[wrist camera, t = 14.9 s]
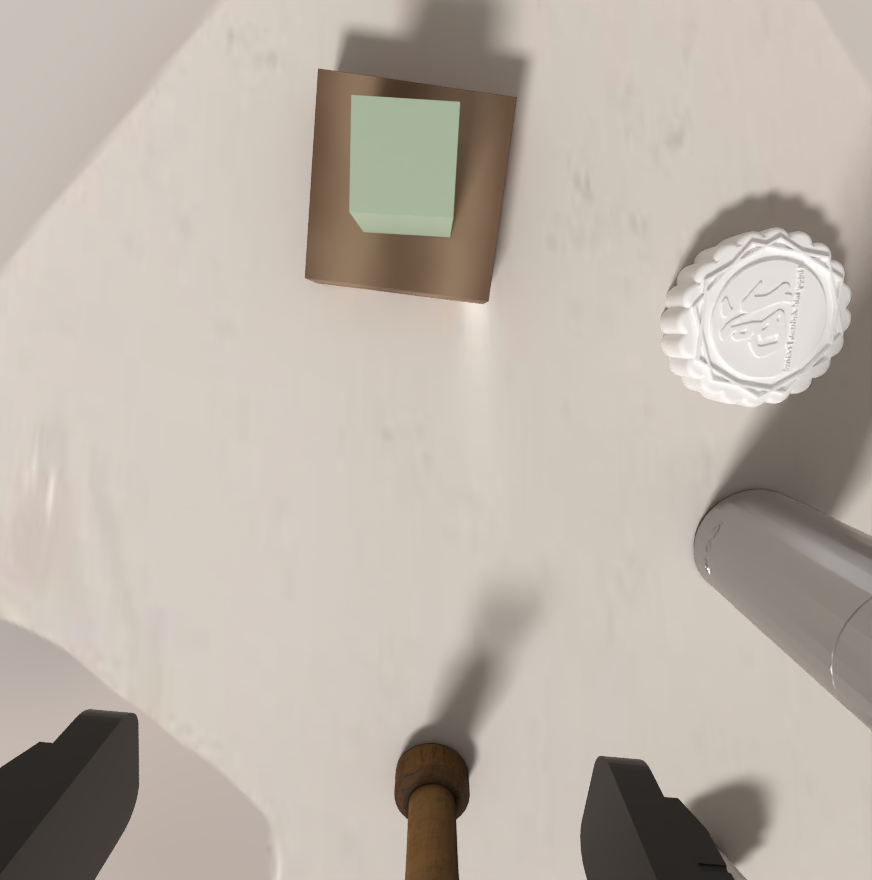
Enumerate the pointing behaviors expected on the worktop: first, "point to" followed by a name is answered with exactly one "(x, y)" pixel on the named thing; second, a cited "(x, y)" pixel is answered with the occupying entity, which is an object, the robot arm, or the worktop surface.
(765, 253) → the mooncake
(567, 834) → the worktop surface
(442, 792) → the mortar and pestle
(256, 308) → the worktop surface
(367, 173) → the sage block
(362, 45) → the worktop surface
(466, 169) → the walnut block
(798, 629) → the robot arm
